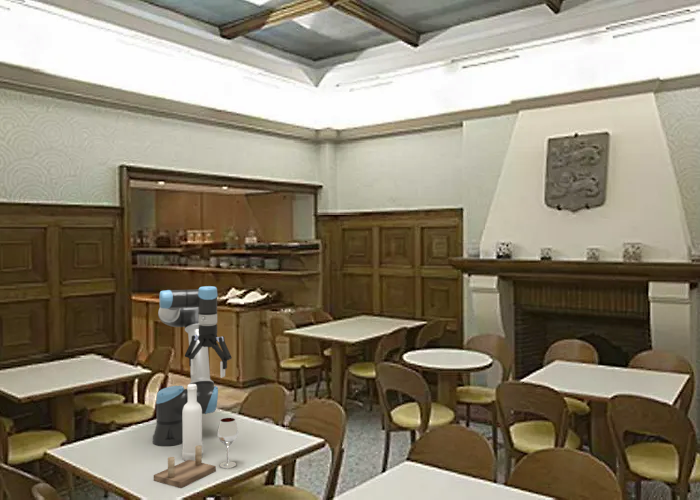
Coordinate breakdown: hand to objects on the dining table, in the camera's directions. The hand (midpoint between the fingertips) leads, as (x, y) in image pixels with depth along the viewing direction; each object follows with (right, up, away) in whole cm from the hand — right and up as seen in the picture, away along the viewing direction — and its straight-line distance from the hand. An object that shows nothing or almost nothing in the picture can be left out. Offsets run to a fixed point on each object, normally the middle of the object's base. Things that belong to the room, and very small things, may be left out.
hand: (208, 375), depth 244 cm
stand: (-4, -34, -20) cm, 39 cm away
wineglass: (+10, -34, -10) cm, 36 cm away
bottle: (-6, -34, -2) cm, 34 cm away
